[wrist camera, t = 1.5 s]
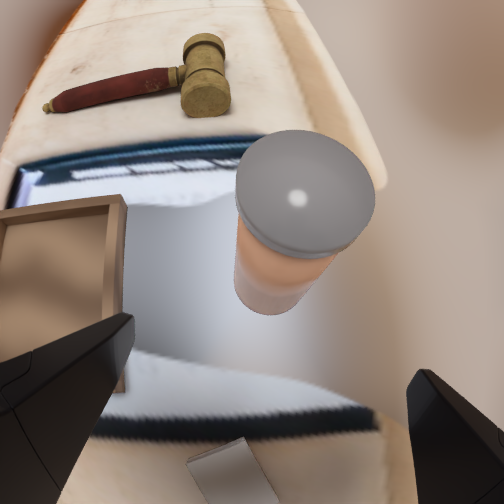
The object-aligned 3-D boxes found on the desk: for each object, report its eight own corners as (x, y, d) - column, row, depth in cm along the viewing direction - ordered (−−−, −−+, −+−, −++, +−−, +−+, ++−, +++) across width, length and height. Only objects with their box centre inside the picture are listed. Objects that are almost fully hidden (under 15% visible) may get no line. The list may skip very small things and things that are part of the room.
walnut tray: (125, 392, 19) (115, 393, 17) (-11, 379, 18) (-25, 376, 16) (127, 207, 24) (120, 194, 22) (6, 222, 23) (-5, 211, 21)
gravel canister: (312, 314, 22) (390, 243, 11) (234, 321, 22) (242, 253, 11) (300, 243, 24) (354, 132, 13) (228, 247, 24) (231, 130, 13)
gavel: (20, 127, 24) (48, 69, 28) (40, 154, 28) (61, 94, 32) (230, 81, 25) (223, 30, 29) (232, 117, 29) (225, 62, 33)
